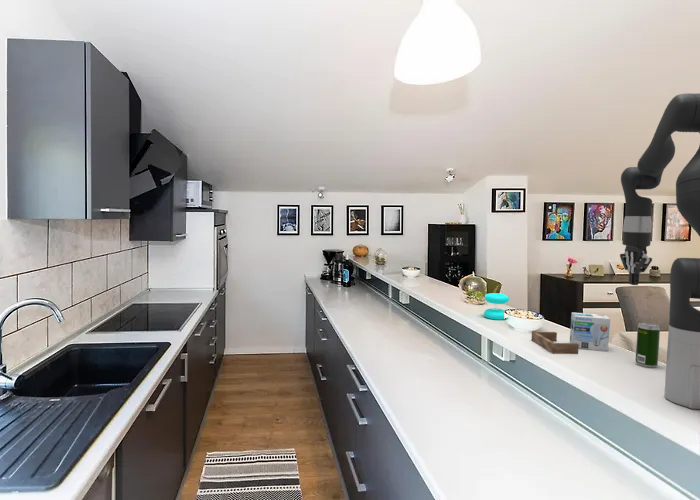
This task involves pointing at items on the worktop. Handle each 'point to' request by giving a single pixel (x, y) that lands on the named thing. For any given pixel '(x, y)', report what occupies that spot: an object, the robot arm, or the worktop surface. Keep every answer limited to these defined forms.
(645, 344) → the green metal cylinder
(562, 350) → the wooden u-shaped bracket
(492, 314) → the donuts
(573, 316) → the light bulb box
